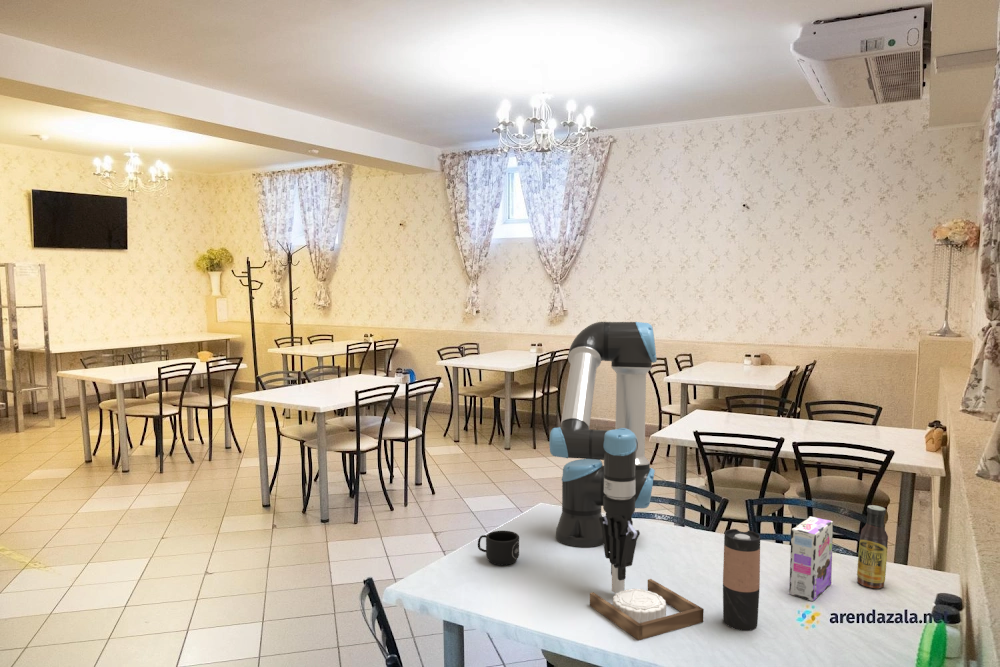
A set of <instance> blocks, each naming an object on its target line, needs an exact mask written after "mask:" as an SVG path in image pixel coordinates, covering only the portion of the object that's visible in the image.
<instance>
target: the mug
mask: <svg viewBox="0 0 1000 667" xmlns="http://www.w3.org/2000/svg"><path fill="white" fill-rule="evenodd" d="M482 538H485V549H484V548H482V546H481V540H482ZM477 548H478V551H481V552H483V553H485V555H486V558H487V559H486V560H488V561H489V562H490V563H492V564H494V565H496V566H509V565H511V564H514V563H516V562H517V560H518V558H519V556H520V536H519V534H518V533H516V532H515V531H510V530H494V531H491V532H489V533H487V535H486V534H483V535H480V536H479V537H478V540H477Z"/></svg>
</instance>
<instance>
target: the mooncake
mask: <svg viewBox="0 0 1000 667" xmlns="http://www.w3.org/2000/svg"><path fill="white" fill-rule="evenodd" d="M612 605H613V606H614V607H616V608H617V609H619V610H620V611H622V612H623V613H625V614H626V615H628V616H629V617H631V618H632V619H634V620H635V621H637V622H638V623H643V622H647V621H650V620H654V619H658V618H661V617H665V616H667V603H666V601H665V600H664V599H663V598H662V597H661V596H659V595H658V594H656V593H653V592H651V591H648V590H647V589H646V590H645V589H643V588H632V589H624V591H620V592H619V593H614V595H613V597H612Z"/></svg>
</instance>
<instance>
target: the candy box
mask: <svg viewBox="0 0 1000 667" xmlns="http://www.w3.org/2000/svg"><path fill="white" fill-rule="evenodd" d="M833 525H834V521H832V520H829V519H824V518H821V517H816V516H808V517H807V518H806V519H804V520H803V521H802V522H800V523H799V524H798V525H796V526H795V527H793V528H791V533H790V535H791V536H790V561H789V562H790V563H789V565H790V567H789V589H788V590H789V593H788V594H789V595H791V596H794V597H798V598H802V599H804V600H807V601H811V602H814V601H815V600H816V599H817V598H818V597H819V596H820V595H821V594H823V592H824V591H825V590H827V589H828V588H829V586H830V585H832V569H833V568H832V567H833V566H832V564H833V535H834V534H833V533H834V530H833V529H834V528H833V527H834V526H833Z"/></svg>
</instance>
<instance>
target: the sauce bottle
mask: <svg viewBox="0 0 1000 667" xmlns="http://www.w3.org/2000/svg"><path fill="white" fill-rule="evenodd" d="M866 512H867V518H866V523H865V524H864V526H863V527H862V528H861V531H860V537H859V545H858V546H859V547H858V558H857V571H856V572H857V573H856V575H857V576H856V578H857V579H856V581H857V583H858V584H859V585H861V586H863V587H865V588H871V589H875V590H879V589H881V588H884V586H885V582H886V572H887V559H888V558H887V557H888V542H889V535H888V533H887V532H886V529H885V515H886V513H887V512H886V508H885V507H883V506H879V505H874V504H872V505H871V504H869V505H867V508H866Z"/></svg>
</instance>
